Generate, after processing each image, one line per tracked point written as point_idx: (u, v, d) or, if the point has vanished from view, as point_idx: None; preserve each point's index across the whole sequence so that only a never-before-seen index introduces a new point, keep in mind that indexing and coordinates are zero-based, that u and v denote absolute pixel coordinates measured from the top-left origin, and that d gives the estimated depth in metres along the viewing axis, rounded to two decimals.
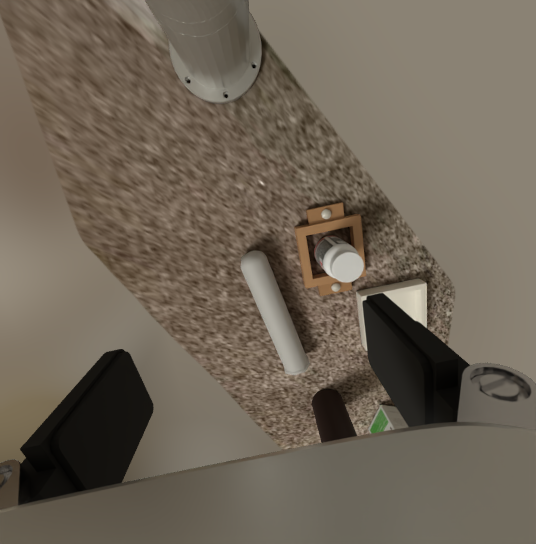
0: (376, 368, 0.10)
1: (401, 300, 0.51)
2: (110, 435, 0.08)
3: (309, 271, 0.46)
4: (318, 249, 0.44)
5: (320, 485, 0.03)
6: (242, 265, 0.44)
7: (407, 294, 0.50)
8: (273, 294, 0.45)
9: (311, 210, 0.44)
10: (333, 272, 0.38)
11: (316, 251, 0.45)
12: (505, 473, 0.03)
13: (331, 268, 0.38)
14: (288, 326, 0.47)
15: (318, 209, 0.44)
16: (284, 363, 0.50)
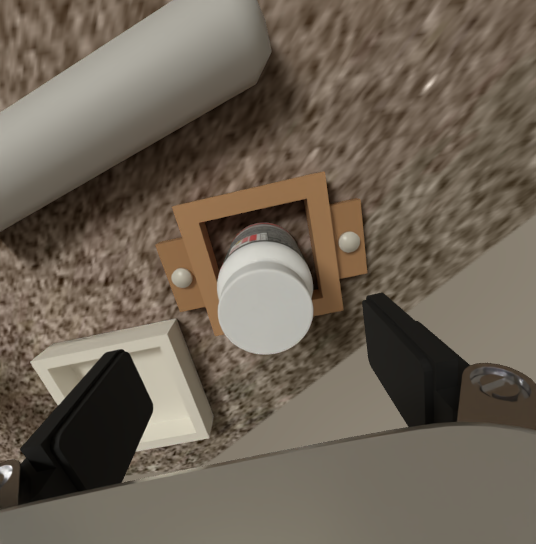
0: (376, 368, 0.10)
1: (167, 400, 0.26)
2: (110, 435, 0.08)
3: (218, 213, 0.19)
4: (277, 230, 0.19)
5: (321, 486, 0.03)
6: None
7: (180, 407, 0.27)
8: (145, 100, 0.14)
9: (358, 209, 0.20)
10: (249, 274, 0.12)
11: (270, 226, 0.19)
12: (506, 473, 0.03)
13: (260, 267, 0.12)
14: (52, 167, 0.16)
15: (359, 224, 0.20)
16: None
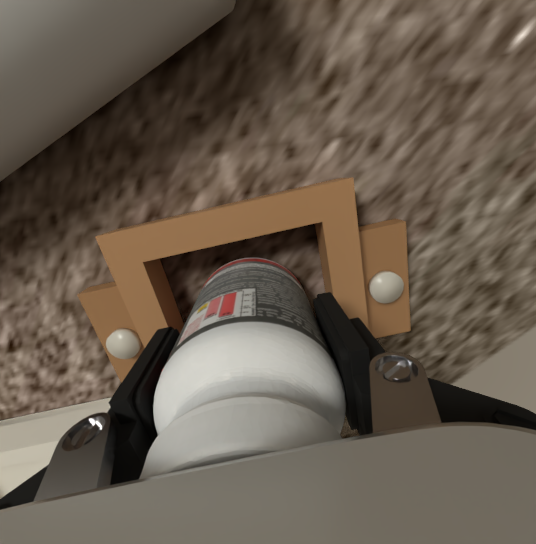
0: None
1: None
2: None
3: (174, 246, 0.11)
4: (274, 275, 0.11)
5: (320, 486, 0.03)
6: None
7: None
8: None
9: (402, 236, 0.12)
10: (202, 461, 0.04)
11: (261, 267, 0.12)
12: (505, 473, 0.03)
13: (233, 430, 0.05)
14: None
15: (402, 260, 0.13)
16: None
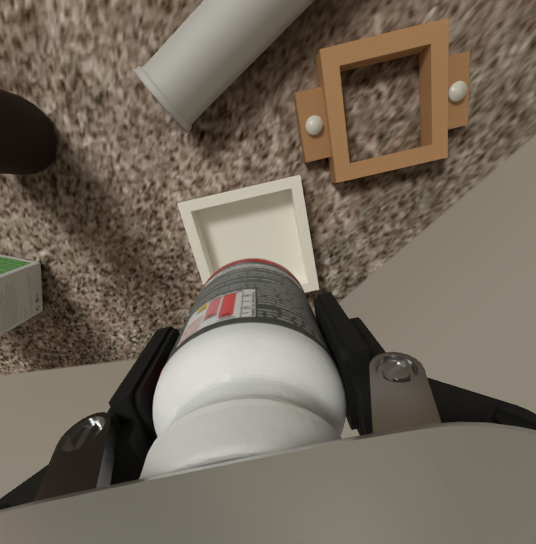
0: None
1: (278, 260, 0.29)
2: None
3: (356, 56, 0.23)
4: (274, 275, 0.11)
5: (321, 486, 0.03)
6: None
7: (289, 268, 0.30)
8: None
9: (467, 60, 0.24)
10: (201, 464, 0.04)
11: (261, 267, 0.12)
12: (505, 473, 0.03)
13: (233, 432, 0.05)
14: (263, 18, 0.20)
15: (466, 75, 0.24)
16: (161, 53, 0.20)
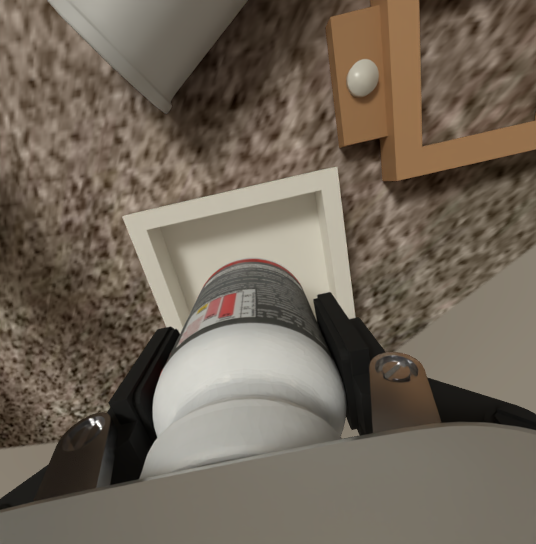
0: None
1: None
2: None
3: None
4: (274, 275, 0.11)
5: (321, 486, 0.03)
6: None
7: None
8: None
9: None
10: (201, 464, 0.04)
11: (261, 267, 0.12)
12: (506, 473, 0.03)
13: (233, 433, 0.05)
14: None
15: None
16: None
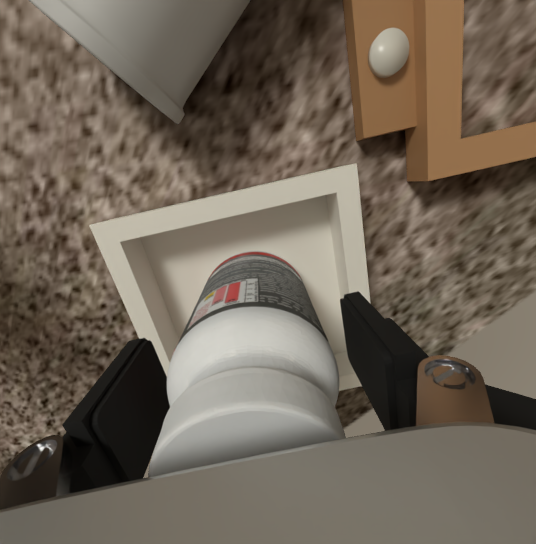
0: (353, 363, 0.10)
1: None
2: (138, 417, 0.09)
3: None
4: (275, 267, 0.12)
5: (321, 486, 0.03)
6: None
7: None
8: None
9: None
10: (214, 417, 0.05)
11: (263, 260, 0.12)
12: (505, 473, 0.03)
13: (239, 393, 0.05)
14: None
15: None
16: None
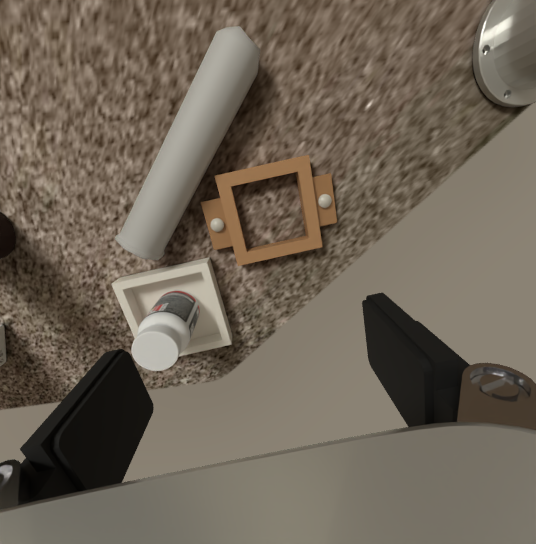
0: (376, 368, 0.10)
1: (200, 320, 0.37)
2: (110, 435, 0.08)
3: (243, 180, 0.30)
4: (179, 298, 0.33)
5: (321, 486, 0.03)
6: (222, 30, 0.25)
7: (209, 326, 0.37)
8: (216, 113, 0.26)
9: (330, 179, 0.32)
10: (145, 334, 0.26)
11: (176, 295, 0.33)
12: (506, 473, 0.03)
13: (151, 330, 0.26)
14: (187, 180, 0.28)
15: (330, 189, 0.32)
16: (128, 223, 0.29)
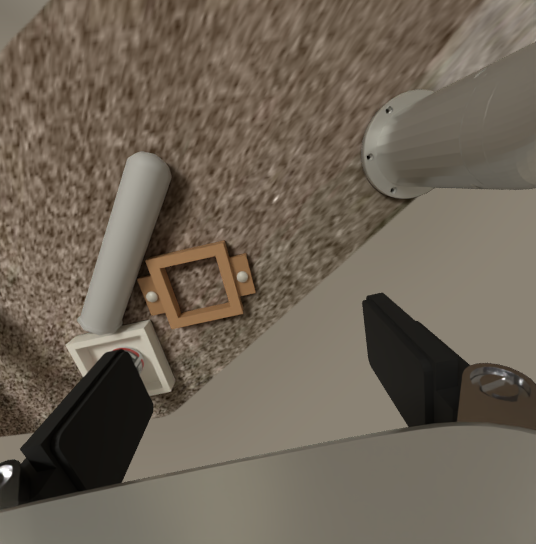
0: (376, 368, 0.10)
1: (145, 369, 0.43)
2: (110, 435, 0.08)
3: (169, 263, 0.36)
4: None
5: (321, 486, 0.03)
6: (131, 157, 0.30)
7: (154, 374, 0.44)
8: (137, 221, 0.32)
9: (245, 259, 0.37)
10: None
11: None
12: (505, 473, 0.03)
13: None
14: (125, 271, 0.34)
15: (247, 267, 0.38)
16: (85, 308, 0.36)
